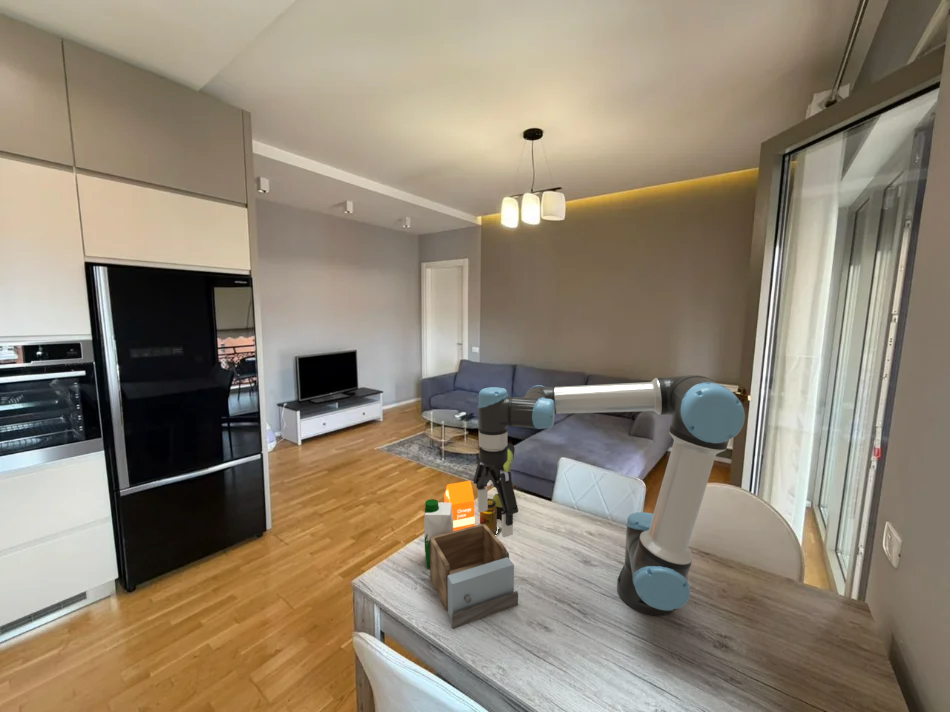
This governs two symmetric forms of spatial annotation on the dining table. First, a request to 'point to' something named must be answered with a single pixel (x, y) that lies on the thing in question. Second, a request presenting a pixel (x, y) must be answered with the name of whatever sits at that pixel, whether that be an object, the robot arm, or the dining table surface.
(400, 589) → the dining table surface
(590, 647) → the dining table surface
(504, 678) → the dining table surface
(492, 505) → the condiment
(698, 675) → the dining table surface
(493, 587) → the door
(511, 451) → the cordless drill
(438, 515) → the milk carton
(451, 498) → the orange juice
